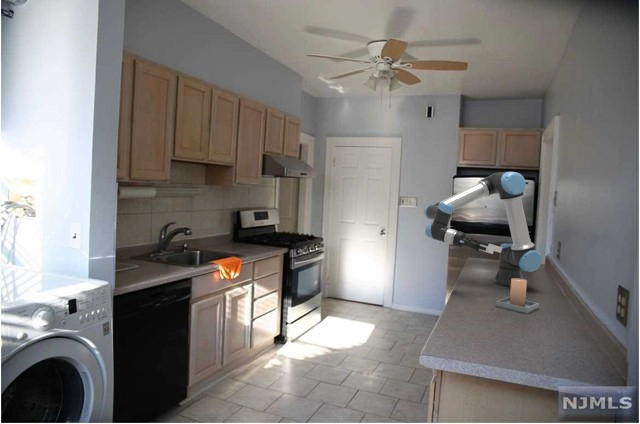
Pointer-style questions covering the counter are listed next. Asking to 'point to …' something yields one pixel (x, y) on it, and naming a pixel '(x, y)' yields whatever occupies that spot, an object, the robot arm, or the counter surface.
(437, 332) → the counter surface
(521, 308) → the grey tray
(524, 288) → the light orange tall cylinder
